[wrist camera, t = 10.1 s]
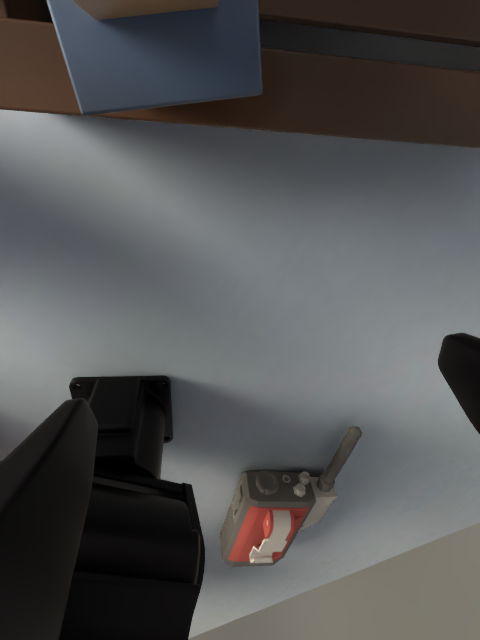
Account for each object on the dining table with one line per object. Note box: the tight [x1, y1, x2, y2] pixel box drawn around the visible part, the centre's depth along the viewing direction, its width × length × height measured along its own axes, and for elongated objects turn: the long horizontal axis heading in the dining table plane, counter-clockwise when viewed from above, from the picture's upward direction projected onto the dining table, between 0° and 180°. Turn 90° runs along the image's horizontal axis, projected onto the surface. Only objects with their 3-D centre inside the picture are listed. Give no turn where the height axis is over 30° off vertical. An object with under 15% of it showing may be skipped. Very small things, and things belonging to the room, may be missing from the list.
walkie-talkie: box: [221, 426, 362, 567], centre depth 30 cm, size 9×4×20 cm
